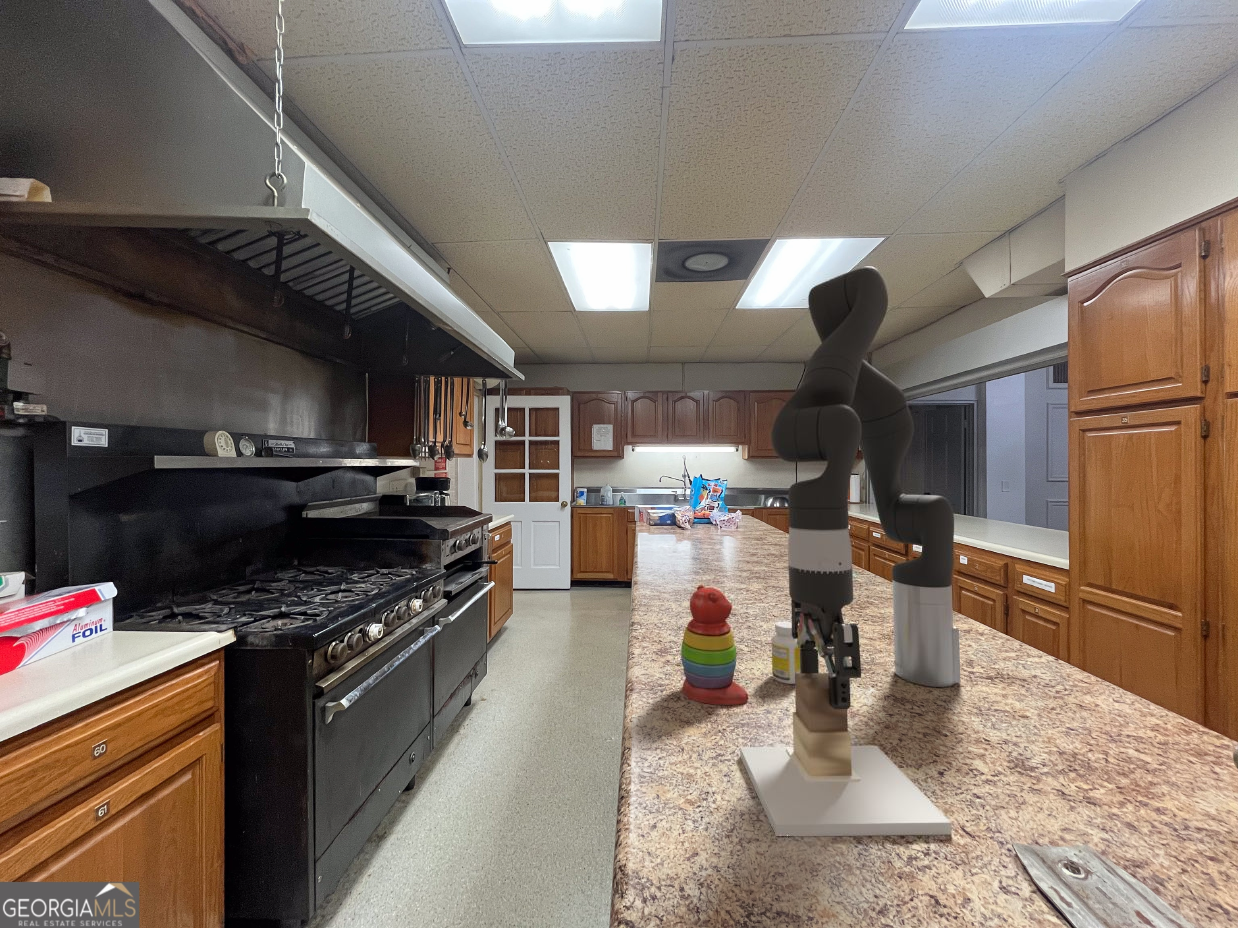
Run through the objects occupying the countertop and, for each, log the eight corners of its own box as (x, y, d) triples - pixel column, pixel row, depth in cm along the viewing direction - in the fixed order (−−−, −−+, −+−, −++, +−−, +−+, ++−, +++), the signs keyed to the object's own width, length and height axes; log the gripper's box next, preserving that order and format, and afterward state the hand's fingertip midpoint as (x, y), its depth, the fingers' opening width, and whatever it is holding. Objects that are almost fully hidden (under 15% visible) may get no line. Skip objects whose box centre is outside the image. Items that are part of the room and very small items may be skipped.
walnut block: (830, 712, 61) (829, 673, 61) (847, 731, 56) (846, 688, 56) (795, 712, 61) (794, 673, 61) (810, 731, 56) (809, 688, 56)
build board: (876, 754, 62) (876, 743, 62) (951, 834, 48) (951, 820, 48) (740, 756, 62) (740, 745, 62) (776, 836, 48) (775, 822, 48)
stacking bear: (752, 704, 77) (750, 593, 77) (692, 709, 75) (691, 596, 76) (727, 676, 87) (725, 579, 88) (674, 680, 86) (673, 582, 86)
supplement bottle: (798, 672, 89) (797, 620, 89) (807, 685, 83) (806, 629, 84) (769, 672, 89) (768, 619, 90) (776, 684, 84) (774, 628, 84)
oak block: (832, 751, 61) (831, 711, 61) (851, 775, 56) (850, 732, 56) (793, 751, 61) (792, 712, 61) (809, 776, 56) (808, 732, 56)
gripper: (880, 573, 53) (885, 719, 53) (823, 553, 67) (827, 667, 67) (814, 575, 53) (818, 721, 53) (771, 554, 67) (774, 669, 67)
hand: (823, 691), depth 60 cm, fingers open, 8 cm apart
